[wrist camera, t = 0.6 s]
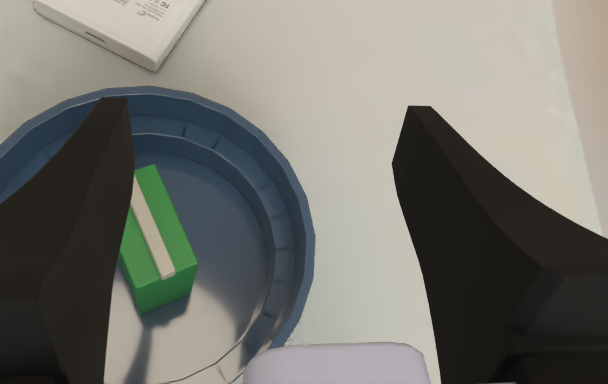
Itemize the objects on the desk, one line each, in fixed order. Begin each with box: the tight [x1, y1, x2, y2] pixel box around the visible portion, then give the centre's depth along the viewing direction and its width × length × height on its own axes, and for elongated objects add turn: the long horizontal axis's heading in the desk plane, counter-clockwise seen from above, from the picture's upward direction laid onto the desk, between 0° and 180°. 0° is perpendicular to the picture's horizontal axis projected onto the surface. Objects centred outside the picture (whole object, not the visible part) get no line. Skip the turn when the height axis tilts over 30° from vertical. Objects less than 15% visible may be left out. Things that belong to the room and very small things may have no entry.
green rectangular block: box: [118, 164, 198, 315], centre depth 27 cm, size 3×5×7 cm, turn 26°
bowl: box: [0, 86, 315, 384], centre depth 29 cm, size 16×16×5 cm
